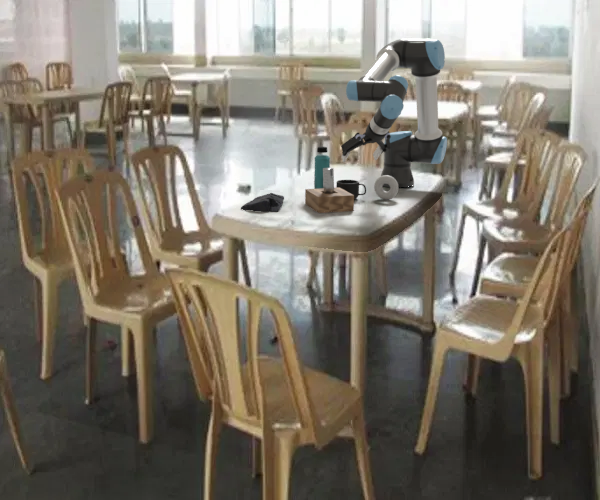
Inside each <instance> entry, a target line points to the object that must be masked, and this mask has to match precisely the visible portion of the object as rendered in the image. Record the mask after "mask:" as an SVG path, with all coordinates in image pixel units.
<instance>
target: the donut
mask: <svg viewBox="0 0 600 500" xmlns="http://www.w3.org/2000/svg"><path fill="white" fill-rule="evenodd" d="M380 176H381V175H380ZM380 176H379V177H378V178H377V179H376V180H375V183H374V187H373V188H374V192H375V194H376V196H377V197H378V198H380V199H381V200H385V201H387V200H393V199H394V198H395V197H396V196H397V194H398V192H399V189H400V188H399V187H398V183H397V181H396V180H395V179H394V178H393V177H392V176H389V175H383V176H381V177H380ZM385 183H386V184H389V186H390V187H389V190H388V191H387V190H384V186H383V185H384V184H385Z"/></svg>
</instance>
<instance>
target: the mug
mask: <svg viewBox="0 0 600 500" xmlns="http://www.w3.org/2000/svg"><path fill="white" fill-rule="evenodd" d="M335 186H336V187H335V188H338V187H339V188H341V189H343V190H345V191H347V192H349V193H351V194H353V195H354V200H356V199H357V198H358V197H359V196H364V195H366V193H367V188H366V185H365V184H363V183H360V181H358V180H355V179H340V180H337V181H336V185H335ZM360 186H363V188H364V192H362V193H360Z"/></svg>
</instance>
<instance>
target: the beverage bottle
mask: <svg viewBox="0 0 600 500" xmlns="http://www.w3.org/2000/svg"><path fill="white" fill-rule="evenodd" d="M316 149H317V150H316V152H317V153H321V154H317V155H316V156H315V157H314V173H313V174H314V177H313V179H314V181H313V185H314V186H313V188H314V189H319V188H324V187H323V168H331V162H330V161H331V160H330V159H331V157H330V156H329V155H328V154H325V153H328V147H327V146H317V148H316ZM322 153H323V154H322Z"/></svg>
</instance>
